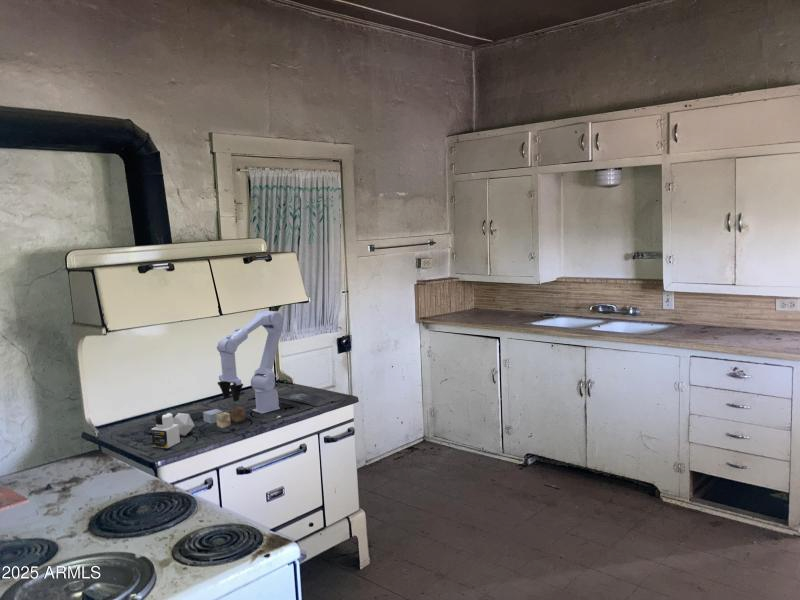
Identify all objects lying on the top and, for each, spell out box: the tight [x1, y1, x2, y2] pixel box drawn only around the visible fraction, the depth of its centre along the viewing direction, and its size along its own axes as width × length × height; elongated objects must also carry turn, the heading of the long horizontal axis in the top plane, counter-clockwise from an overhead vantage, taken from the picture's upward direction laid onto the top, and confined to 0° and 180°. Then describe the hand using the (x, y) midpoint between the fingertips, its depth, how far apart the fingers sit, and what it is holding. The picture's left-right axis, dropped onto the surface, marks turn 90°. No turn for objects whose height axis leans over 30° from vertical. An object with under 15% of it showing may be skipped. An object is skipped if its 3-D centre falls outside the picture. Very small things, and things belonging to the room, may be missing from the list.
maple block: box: [216, 411, 232, 429], centre depth 267 cm, size 4×4×5 cm
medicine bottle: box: [151, 412, 181, 449], centre depth 246 cm, size 7×7×12 cm
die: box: [173, 412, 195, 437], centre depth 258 cm, size 8×9×10 cm
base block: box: [202, 408, 224, 424], centre depth 275 cm, size 6×6×4 cm
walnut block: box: [230, 406, 246, 423], centre depth 274 cm, size 4×4×5 cm
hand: (231, 399), depth 272 cm, fingers open, 7 cm apart
